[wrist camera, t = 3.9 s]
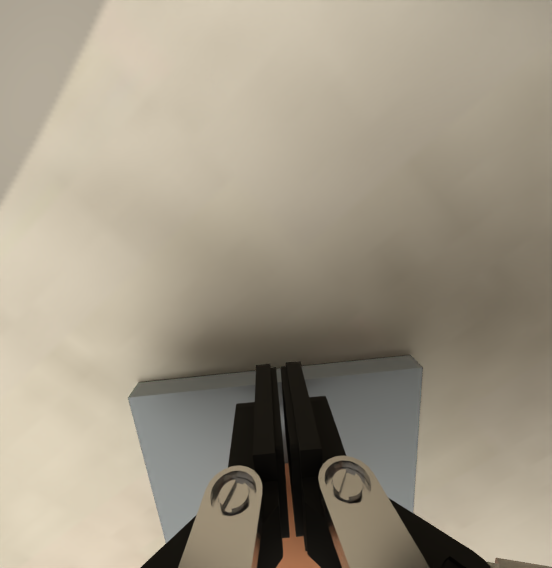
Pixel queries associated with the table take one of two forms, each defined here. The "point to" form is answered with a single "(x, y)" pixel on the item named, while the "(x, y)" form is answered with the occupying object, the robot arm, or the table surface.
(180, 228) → the table surface
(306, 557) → the ball
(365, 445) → the lane
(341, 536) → the robot arm
